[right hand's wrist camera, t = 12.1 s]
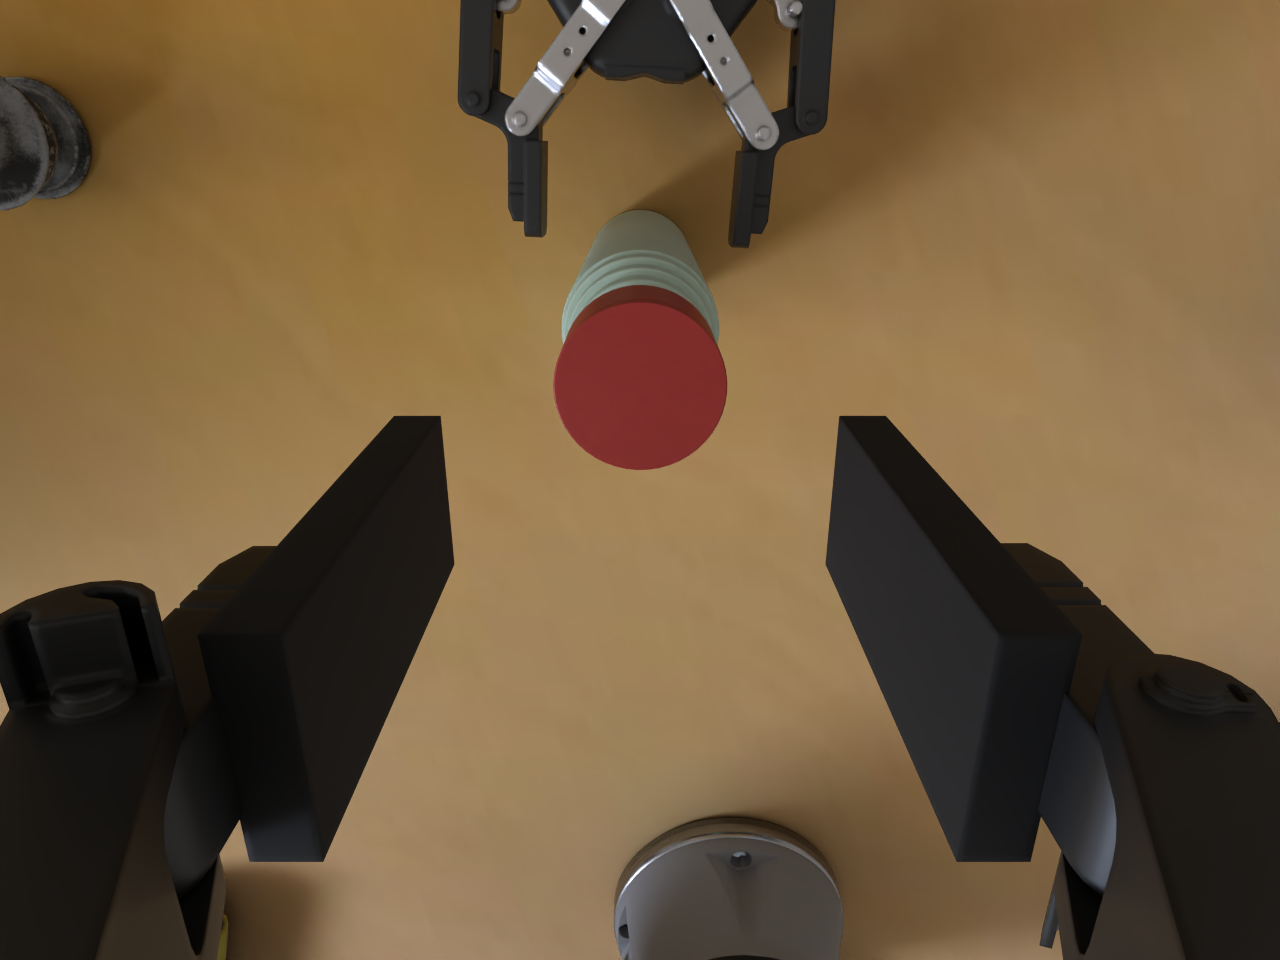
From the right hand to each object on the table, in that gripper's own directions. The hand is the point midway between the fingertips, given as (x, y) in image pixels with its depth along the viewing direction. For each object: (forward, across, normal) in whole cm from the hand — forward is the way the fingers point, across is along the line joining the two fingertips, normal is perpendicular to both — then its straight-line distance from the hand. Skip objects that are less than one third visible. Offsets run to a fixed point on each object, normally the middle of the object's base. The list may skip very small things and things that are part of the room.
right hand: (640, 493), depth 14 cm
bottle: (+29, 0, 0) cm, 29 cm away
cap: (+7, 0, 0) cm, 7 cm away
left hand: (+23, 0, +2) cm, 24 cm away
